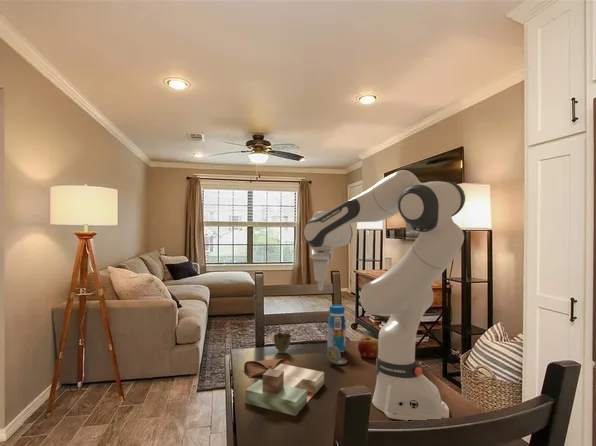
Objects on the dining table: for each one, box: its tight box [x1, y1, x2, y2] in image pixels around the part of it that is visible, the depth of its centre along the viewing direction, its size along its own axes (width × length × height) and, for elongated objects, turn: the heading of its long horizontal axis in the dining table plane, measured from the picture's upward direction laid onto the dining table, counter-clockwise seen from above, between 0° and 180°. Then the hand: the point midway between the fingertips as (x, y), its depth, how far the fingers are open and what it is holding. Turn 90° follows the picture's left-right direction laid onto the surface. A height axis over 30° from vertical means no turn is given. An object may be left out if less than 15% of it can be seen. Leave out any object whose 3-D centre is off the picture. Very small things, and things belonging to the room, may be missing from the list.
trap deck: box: [244, 364, 325, 417], centre depth 114 cm, size 17×24×4 cm
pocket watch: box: [326, 340, 348, 366], centre depth 141 cm, size 8×8×10 cm
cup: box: [273, 332, 292, 355], centre depth 151 cm, size 8×7×8 cm
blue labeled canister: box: [326, 304, 347, 353], centre depth 157 cm, size 8×8×20 cm
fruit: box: [357, 336, 379, 359], centre depth 149 cm, size 10×9×8 cm
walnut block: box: [262, 369, 284, 394], centre depth 108 cm, size 5×5×5 cm
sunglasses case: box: [243, 357, 291, 379], centre depth 131 cm, size 18×7×7 cm
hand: (320, 290), depth 132 cm, fingers closed
